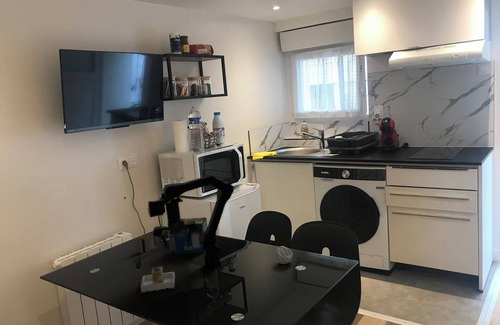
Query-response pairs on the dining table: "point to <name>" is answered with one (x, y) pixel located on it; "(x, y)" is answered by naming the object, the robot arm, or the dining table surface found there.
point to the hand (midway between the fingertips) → (177, 247)
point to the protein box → (194, 244)
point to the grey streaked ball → (283, 255)
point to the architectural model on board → (147, 243)
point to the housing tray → (149, 286)
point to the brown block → (157, 275)
